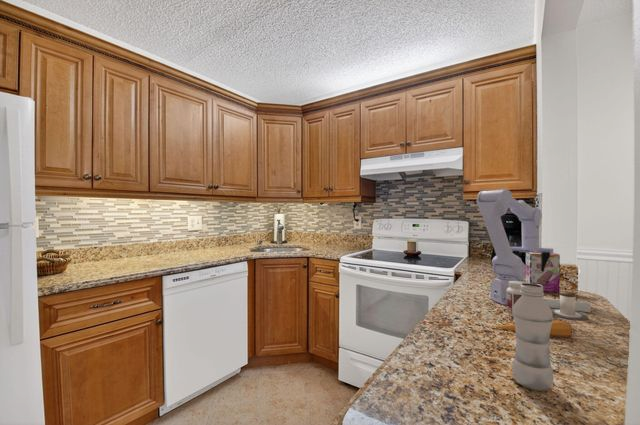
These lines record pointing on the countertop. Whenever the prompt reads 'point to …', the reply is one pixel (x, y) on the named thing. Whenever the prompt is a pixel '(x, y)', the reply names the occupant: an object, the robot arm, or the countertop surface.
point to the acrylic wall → (556, 304)
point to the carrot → (556, 329)
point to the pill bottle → (513, 295)
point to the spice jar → (567, 303)
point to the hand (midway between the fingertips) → (530, 270)
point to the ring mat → (576, 317)
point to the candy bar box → (550, 274)
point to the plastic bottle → (532, 339)
